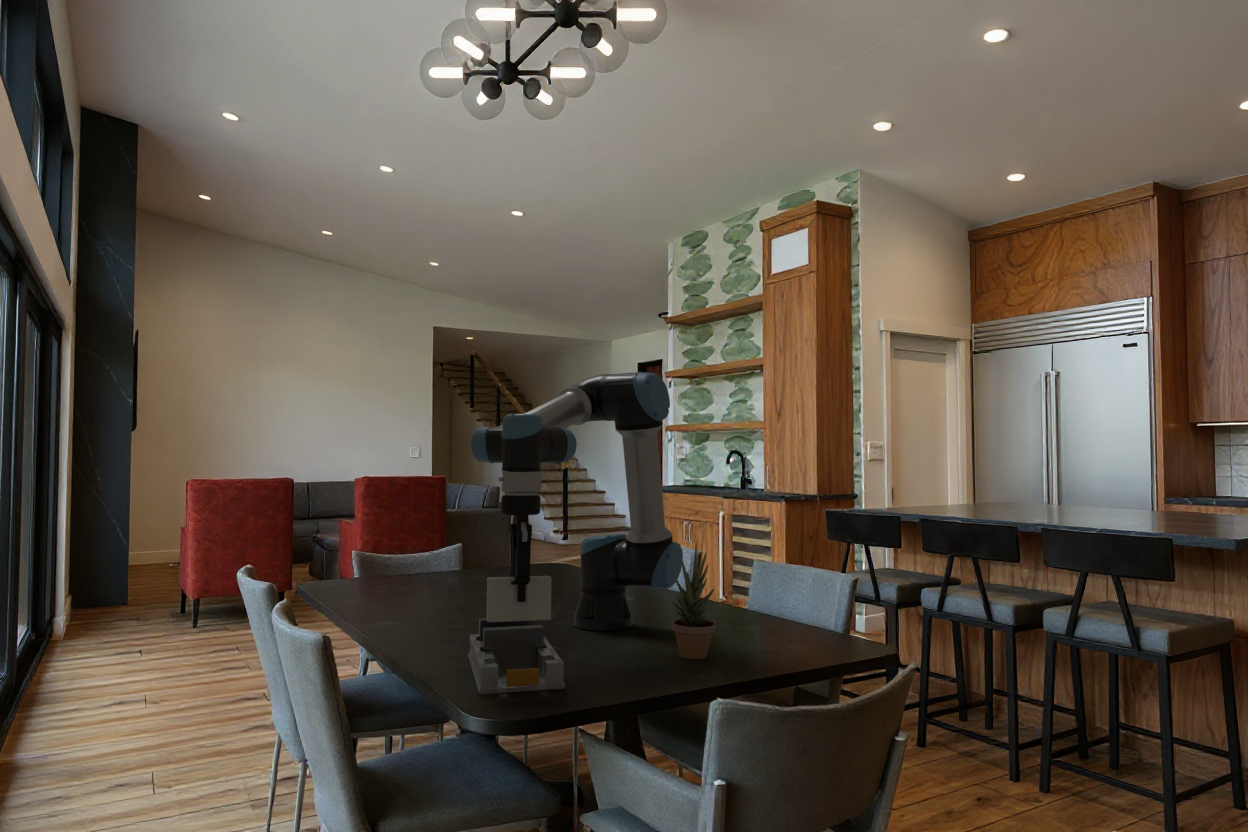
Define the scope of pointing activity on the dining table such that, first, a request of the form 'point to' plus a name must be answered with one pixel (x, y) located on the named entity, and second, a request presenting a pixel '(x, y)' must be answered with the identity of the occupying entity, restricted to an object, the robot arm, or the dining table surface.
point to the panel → (503, 599)
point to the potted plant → (693, 615)
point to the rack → (514, 658)
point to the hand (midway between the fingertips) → (519, 616)
